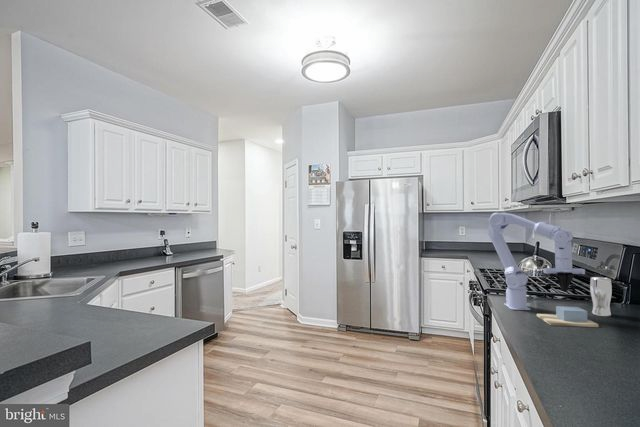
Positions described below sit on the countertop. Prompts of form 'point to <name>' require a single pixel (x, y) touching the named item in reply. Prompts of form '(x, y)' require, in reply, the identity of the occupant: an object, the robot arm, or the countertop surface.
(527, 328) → the countertop surface
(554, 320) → the board
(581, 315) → the slab
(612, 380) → the countertop surface
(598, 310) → the beer glass
